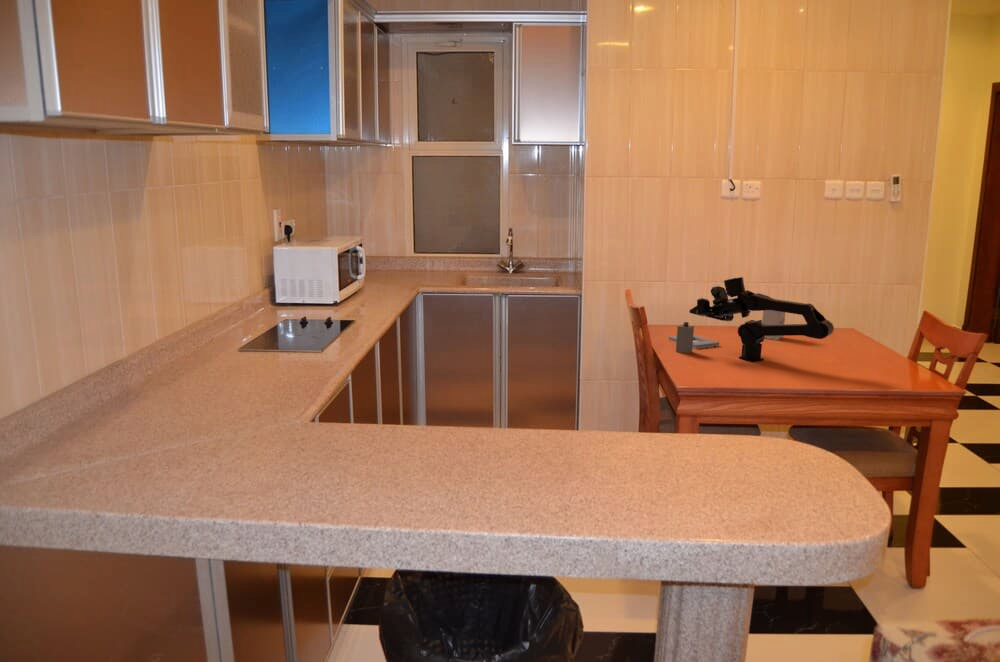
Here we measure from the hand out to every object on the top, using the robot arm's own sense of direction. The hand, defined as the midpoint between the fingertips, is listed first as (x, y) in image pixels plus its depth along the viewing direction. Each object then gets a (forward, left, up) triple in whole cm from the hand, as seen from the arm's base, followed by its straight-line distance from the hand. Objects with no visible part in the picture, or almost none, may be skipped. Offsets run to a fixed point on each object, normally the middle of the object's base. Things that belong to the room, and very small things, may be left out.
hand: (697, 313), depth 303 cm
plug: (-4, +9, -13) cm, 17 cm away
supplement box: (+1, -42, -14) cm, 44 cm away
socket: (+6, -4, -13) cm, 15 cm away
